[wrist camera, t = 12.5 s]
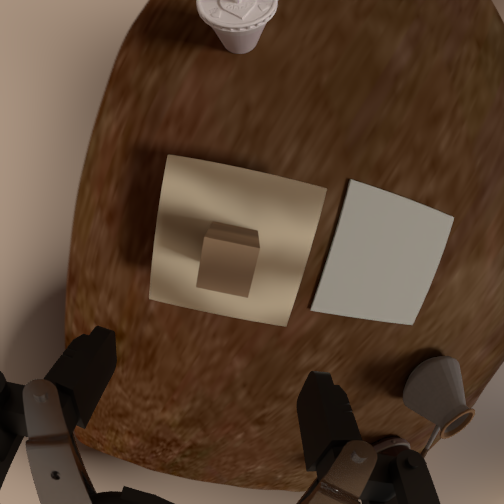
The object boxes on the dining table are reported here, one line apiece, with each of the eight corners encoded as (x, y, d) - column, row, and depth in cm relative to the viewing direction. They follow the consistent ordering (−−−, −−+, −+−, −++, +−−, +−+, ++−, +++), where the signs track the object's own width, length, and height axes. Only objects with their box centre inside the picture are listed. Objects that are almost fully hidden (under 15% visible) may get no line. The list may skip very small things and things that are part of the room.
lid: (170, 154, 24) (148, 154, 18) (324, 187, 25) (345, 196, 19) (151, 295, 28) (132, 325, 23) (285, 322, 29) (292, 357, 24)
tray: (349, 179, 29) (351, 179, 29) (452, 216, 31) (454, 217, 30) (310, 308, 34) (310, 310, 34) (411, 323, 36) (412, 325, 35)
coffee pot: (422, 343, 37) (470, 408, 23) (461, 351, 38) (505, 404, 24) (355, 430, 43) (376, 493, 29) (398, 430, 45) (422, 484, 31)
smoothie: (215, 69, 25) (190, 10, 12) (206, 22, 23) (180, -49, 10) (275, 60, 25) (294, -5, 12) (263, 13, 23) (273, -62, 10)
